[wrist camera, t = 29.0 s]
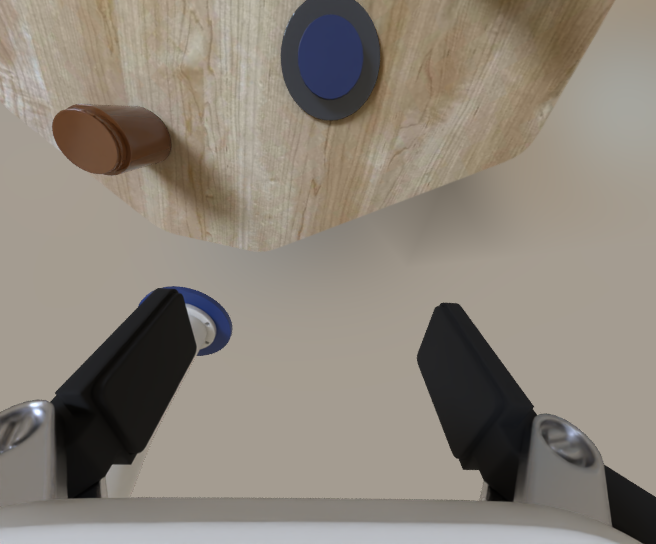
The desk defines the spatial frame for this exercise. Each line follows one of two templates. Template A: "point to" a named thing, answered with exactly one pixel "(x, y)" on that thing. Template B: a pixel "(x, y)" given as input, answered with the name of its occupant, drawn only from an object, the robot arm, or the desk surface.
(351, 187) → the desk surface
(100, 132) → the jar
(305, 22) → the coaster
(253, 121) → the desk surface
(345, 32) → the lid
